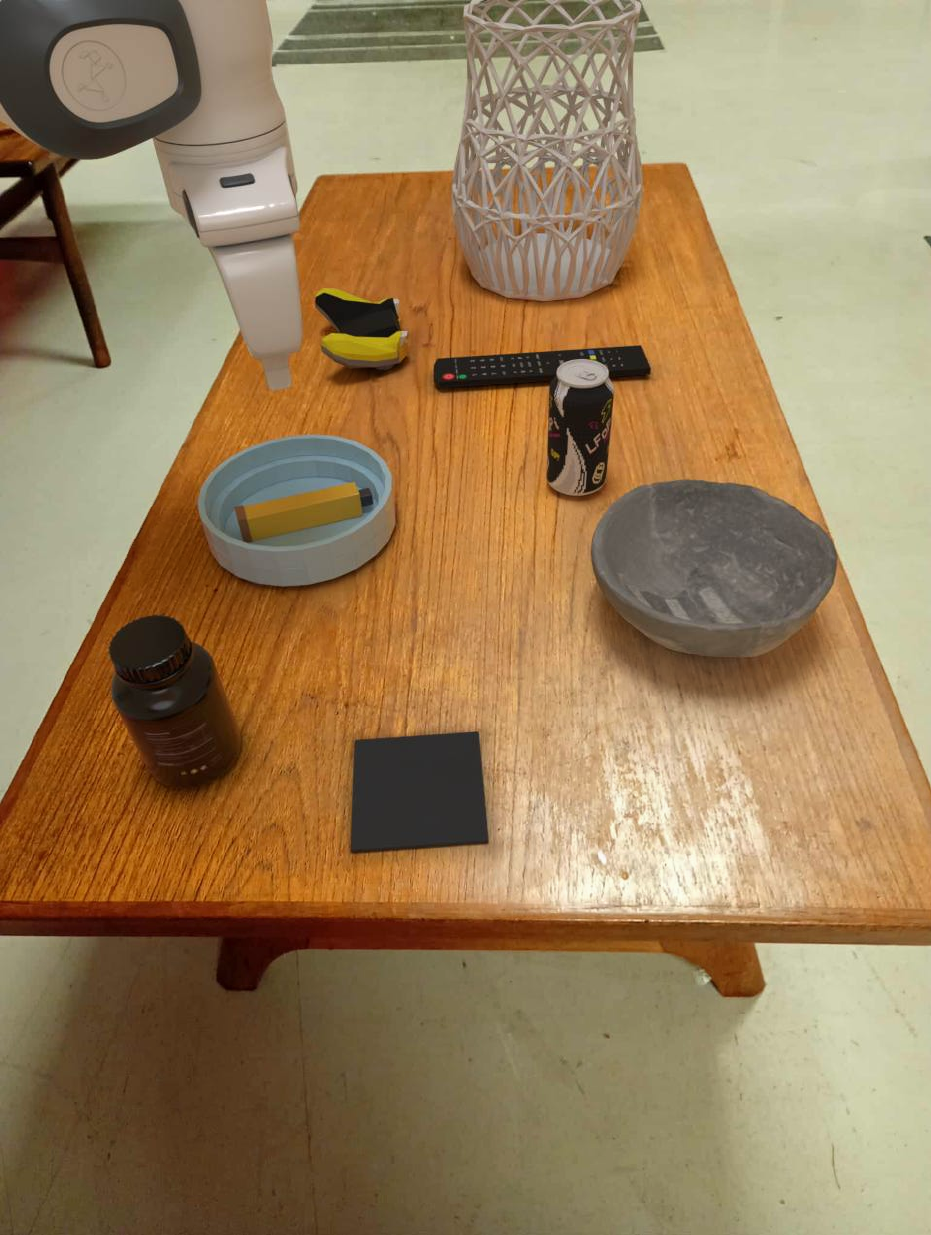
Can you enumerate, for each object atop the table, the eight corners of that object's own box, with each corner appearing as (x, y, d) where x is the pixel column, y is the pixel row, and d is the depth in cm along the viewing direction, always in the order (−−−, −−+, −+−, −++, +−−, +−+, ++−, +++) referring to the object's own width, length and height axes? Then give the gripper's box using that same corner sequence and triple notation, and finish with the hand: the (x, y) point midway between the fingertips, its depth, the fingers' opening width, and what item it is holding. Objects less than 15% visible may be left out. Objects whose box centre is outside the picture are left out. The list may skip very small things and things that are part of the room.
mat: (351, 853, 58) (350, 850, 58) (355, 743, 64) (354, 739, 64) (488, 843, 58) (488, 839, 58) (478, 734, 65) (478, 730, 64)
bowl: (548, 581, 76) (551, 507, 70) (720, 524, 81) (736, 449, 75) (664, 732, 64) (678, 656, 58) (858, 654, 69) (889, 577, 63)
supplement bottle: (142, 733, 66) (87, 618, 57) (234, 705, 67) (194, 590, 59) (153, 806, 61) (95, 693, 53) (251, 775, 63) (210, 660, 54)
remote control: (649, 379, 99) (650, 368, 98) (434, 393, 98) (434, 382, 98) (639, 356, 103) (641, 345, 102) (433, 369, 102) (432, 358, 101)
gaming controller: (327, 388, 100) (415, 377, 101) (320, 343, 96) (411, 332, 97) (318, 327, 111) (398, 318, 112) (311, 284, 107) (394, 275, 108)
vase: (632, 233, 128) (656, -20, 107) (637, 310, 111) (666, 27, 90) (465, 232, 130) (456, -15, 109) (445, 308, 113) (429, 32, 92)
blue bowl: (196, 597, 76) (182, 557, 73) (223, 479, 88) (212, 440, 85) (396, 583, 76) (391, 543, 73) (395, 467, 89) (391, 429, 86)
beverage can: (580, 509, 83) (588, 395, 74) (533, 485, 86) (536, 373, 77) (617, 481, 86) (629, 369, 77) (571, 459, 89) (577, 348, 80)
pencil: (244, 544, 80) (237, 520, 78) (240, 530, 82) (234, 506, 80) (375, 513, 83) (372, 490, 81) (370, 500, 84) (367, 477, 82)
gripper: (169, 134, 67) (213, 308, 77) (198, 232, 53) (248, 430, 63) (252, 122, 68) (285, 295, 78) (302, 214, 54) (335, 412, 64)
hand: (269, 356), depth 70 cm, fingers open, 8 cm apart
